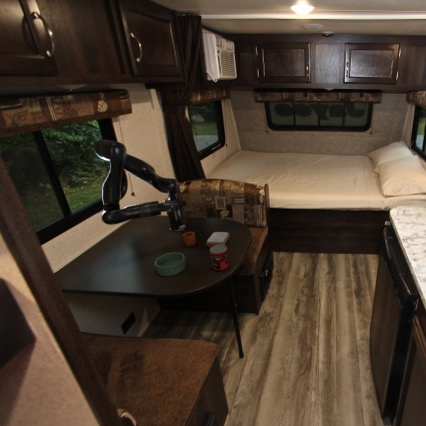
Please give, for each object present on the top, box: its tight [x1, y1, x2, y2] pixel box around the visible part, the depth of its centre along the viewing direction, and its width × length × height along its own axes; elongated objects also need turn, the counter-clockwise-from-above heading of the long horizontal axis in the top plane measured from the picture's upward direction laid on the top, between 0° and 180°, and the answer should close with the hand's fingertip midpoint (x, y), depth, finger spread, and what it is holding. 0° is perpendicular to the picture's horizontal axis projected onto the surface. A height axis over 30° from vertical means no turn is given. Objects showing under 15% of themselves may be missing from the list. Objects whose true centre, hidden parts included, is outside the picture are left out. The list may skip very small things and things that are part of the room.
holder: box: [183, 231, 197, 247], centre depth 168 cm, size 6×6×6 cm
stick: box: [176, 193, 187, 225], centre depth 156 cm, size 2×2×18 cm
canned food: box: [209, 244, 230, 272], centre depth 147 cm, size 8×8×11 cm
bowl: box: [154, 251, 187, 277], centre depth 147 cm, size 14×14×5 cm
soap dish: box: [205, 231, 230, 249], centre depth 168 cm, size 12×10×5 cm
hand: (185, 203), depth 156 cm, fingers closed on stick, 2 cm apart
